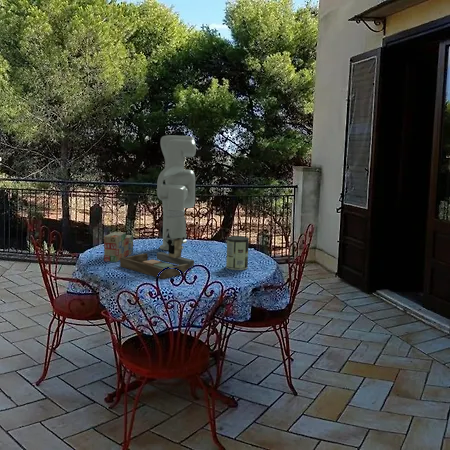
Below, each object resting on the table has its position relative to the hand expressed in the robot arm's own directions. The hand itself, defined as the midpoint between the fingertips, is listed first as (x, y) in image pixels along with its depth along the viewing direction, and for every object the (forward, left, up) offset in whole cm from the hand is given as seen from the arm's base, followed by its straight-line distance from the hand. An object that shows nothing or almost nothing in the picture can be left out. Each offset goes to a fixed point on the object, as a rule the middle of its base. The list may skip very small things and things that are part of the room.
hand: (175, 252), depth 233 cm
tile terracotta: (+11, -3, -6) cm, 13 cm away
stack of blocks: (+9, -30, -6) cm, 32 cm away
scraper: (0, 0, -5) cm, 5 cm away
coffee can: (-18, +22, -6) cm, 30 cm away
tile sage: (+11, +4, -6) cm, 13 cm away
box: (+13, 0, -6) cm, 14 cm away
